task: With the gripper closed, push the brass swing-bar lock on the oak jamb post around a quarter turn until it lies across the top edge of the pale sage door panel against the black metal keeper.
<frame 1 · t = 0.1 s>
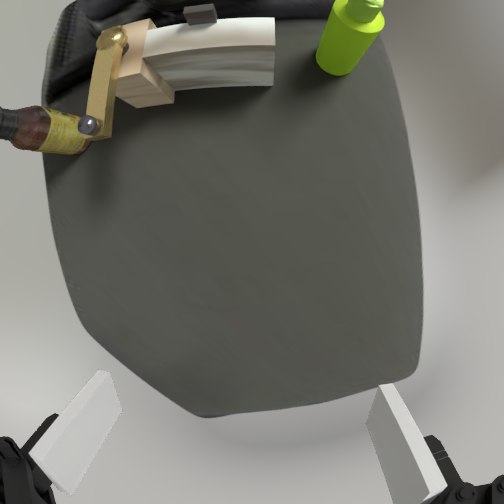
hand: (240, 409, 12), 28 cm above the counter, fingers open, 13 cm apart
door frame: (157, 82, 34), on the counter
sauce bottle: (80, 137, 36), on the counter
swing bar: (100, 76, 20), point 15 cm above the counter, hinge at 0.0°
soap dispenser: (333, 62, 32), on the counter
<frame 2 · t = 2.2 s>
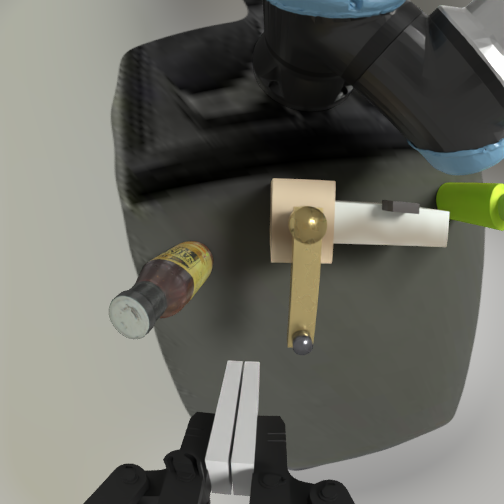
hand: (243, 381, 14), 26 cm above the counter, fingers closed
door frame: (292, 212, 38), on the counter
sauce bottle: (192, 260, 40), on the counter
swing bar: (305, 282, 24), point 15 cm above the counter, hinge at 0.0°
soap dispenser: (447, 203, 36), on the counter
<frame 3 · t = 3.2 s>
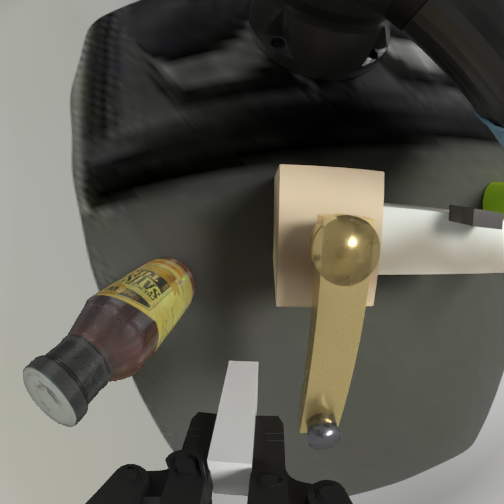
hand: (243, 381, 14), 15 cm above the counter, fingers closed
door frame: (304, 218, 27), on the counter
sauce bottle: (168, 282, 29), on the counter
swing bar: (336, 348, 13), point 15 cm above the counter, hinge at 0.0°
soap dispenser: (493, 208, 25), on the counter
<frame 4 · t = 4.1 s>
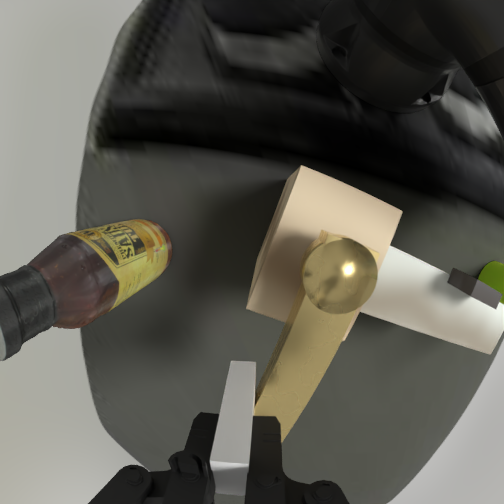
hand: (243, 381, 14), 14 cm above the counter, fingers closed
door frame: (302, 230, 26), on the counter
sauce bottle: (146, 247, 27), on the counter
swing bar: (298, 374, 12), point 15 cm above the counter, hinge at 2.3°, touching gripper
soap dispenser: (487, 286, 26), on the counter
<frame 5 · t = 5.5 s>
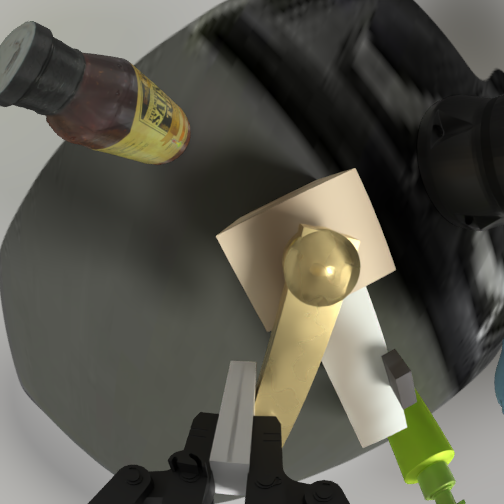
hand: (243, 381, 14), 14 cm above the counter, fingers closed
door frame: (292, 227, 26), on the counter
sauce bottle: (163, 134, 25), on the counter
swing bar: (291, 370, 12), point 15 cm above the counter, hinge at 51.0°, touching gripper
soap dispenser: (390, 398, 30), on the counter
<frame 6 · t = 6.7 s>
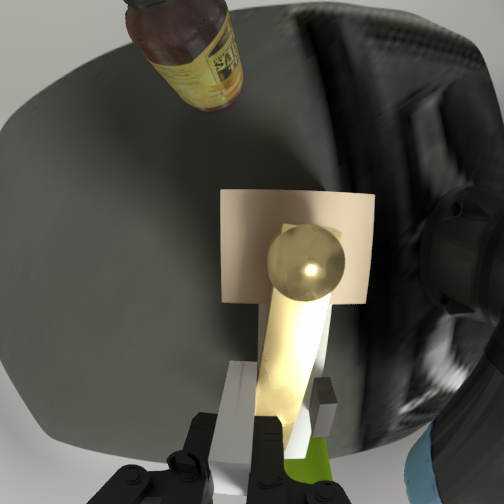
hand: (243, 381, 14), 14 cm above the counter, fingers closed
door frame: (285, 225, 26), on the counter
sauce bottle: (213, 85, 24), on the counter
swing bar: (286, 367, 12), point 15 cm above the counter, hinge at 83.4°, touching gripper
soap dispenser: (296, 426, 31), on the counter
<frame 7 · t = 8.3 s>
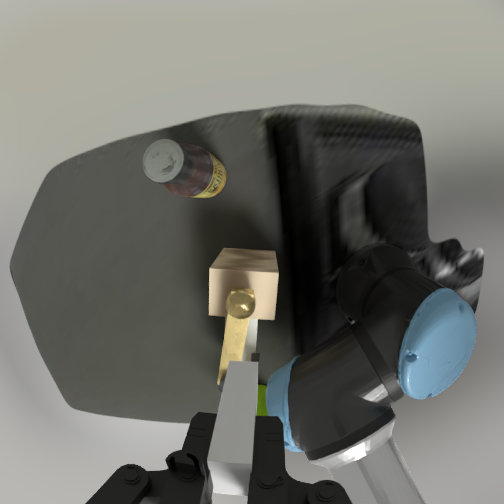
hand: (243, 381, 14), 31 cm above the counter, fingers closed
door frame: (248, 267, 45), on the counter
sauce bottle: (208, 176, 42), on the counter
swing bar: (233, 344, 31), point 15 cm above the counter, hinge at 83.5°
soap dispenser: (257, 393, 50), on the counter
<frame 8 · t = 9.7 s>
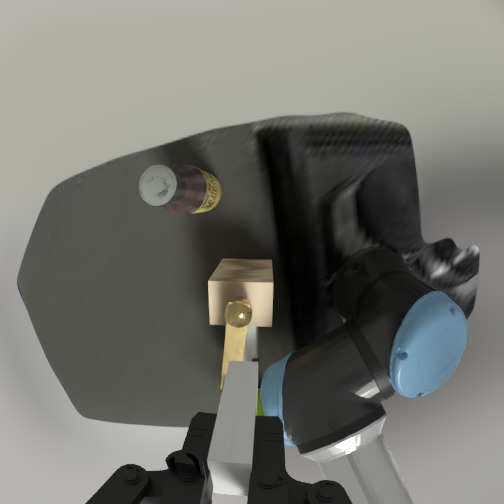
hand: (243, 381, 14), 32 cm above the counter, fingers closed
door frame: (247, 276, 46), on the counter
sauce bottle: (204, 190, 44), on the counter
swing bar: (233, 351, 33), point 15 cm above the counter, hinge at 83.5°
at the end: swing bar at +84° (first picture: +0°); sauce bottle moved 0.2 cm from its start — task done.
